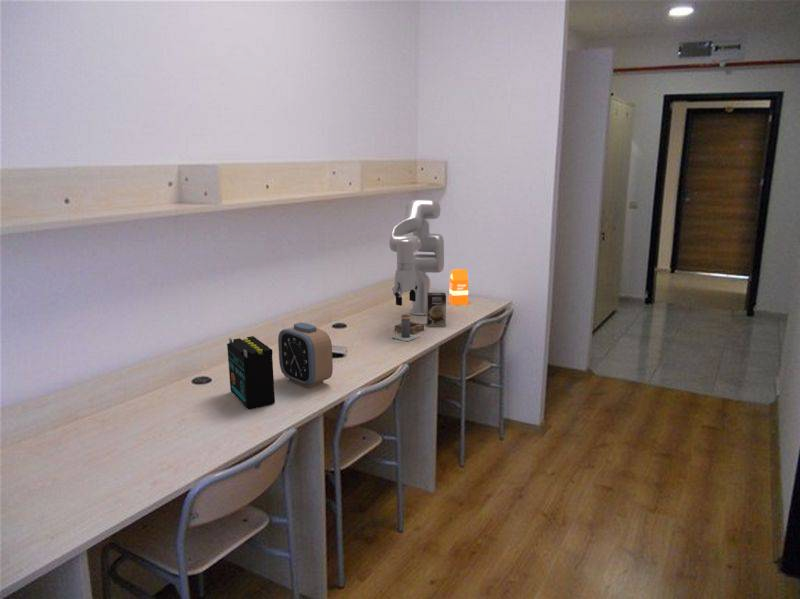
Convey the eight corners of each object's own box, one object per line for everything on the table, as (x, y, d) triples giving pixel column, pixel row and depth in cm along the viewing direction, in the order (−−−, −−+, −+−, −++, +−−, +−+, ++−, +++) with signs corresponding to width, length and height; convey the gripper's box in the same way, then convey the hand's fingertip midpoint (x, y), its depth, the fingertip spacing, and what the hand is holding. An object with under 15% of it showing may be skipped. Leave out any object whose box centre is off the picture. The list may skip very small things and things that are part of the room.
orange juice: (449, 302, 349) (449, 268, 344) (464, 302, 350) (464, 267, 346) (452, 306, 341) (453, 270, 337) (468, 305, 343) (468, 270, 338)
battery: (230, 391, 218) (226, 338, 214) (256, 386, 223) (253, 333, 219) (247, 410, 202) (243, 352, 198) (275, 403, 207) (272, 347, 203)
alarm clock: (279, 378, 231) (276, 323, 226) (300, 372, 238) (297, 318, 233) (312, 392, 217) (309, 333, 212) (333, 385, 223) (331, 328, 219)
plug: (404, 334, 285) (404, 313, 282) (412, 336, 282) (412, 315, 280) (399, 336, 281) (399, 315, 279) (406, 338, 279) (406, 317, 277)
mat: (404, 334, 288) (404, 332, 288) (419, 337, 282) (419, 336, 282) (392, 338, 281) (392, 337, 281) (407, 341, 276) (407, 340, 275)
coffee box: (427, 327, 299) (427, 295, 295) (426, 323, 305) (426, 292, 302) (446, 327, 299) (446, 294, 296) (444, 323, 306) (444, 291, 302)
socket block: (408, 327, 300) (407, 321, 299) (424, 330, 294) (424, 324, 293) (394, 331, 292) (394, 325, 292) (411, 335, 286) (411, 328, 285)
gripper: (411, 262, 283) (411, 298, 287) (386, 268, 270) (387, 305, 274) (423, 264, 278) (424, 300, 283) (399, 270, 266) (399, 308, 270)
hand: (405, 303), depth 279 cm, fingers open, 9 cm apart
